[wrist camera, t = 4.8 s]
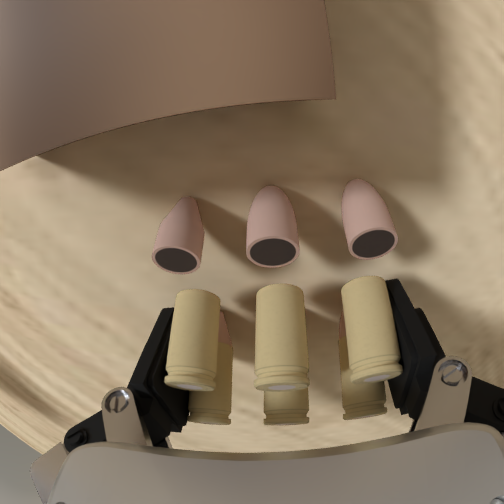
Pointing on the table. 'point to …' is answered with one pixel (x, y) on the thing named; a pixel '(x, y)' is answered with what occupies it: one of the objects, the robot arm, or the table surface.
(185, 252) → the ammunition
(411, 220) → the table surface
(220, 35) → the walnut block
